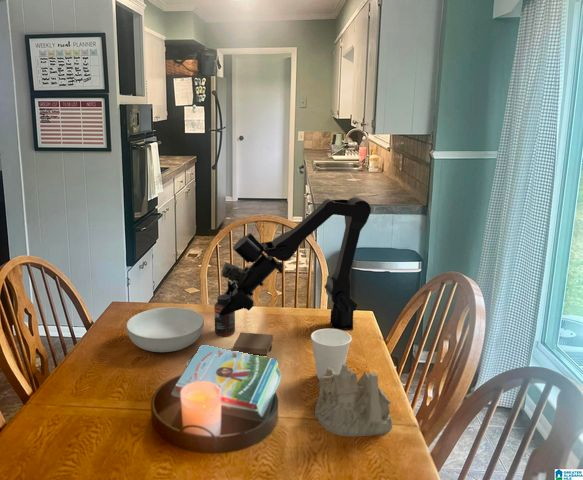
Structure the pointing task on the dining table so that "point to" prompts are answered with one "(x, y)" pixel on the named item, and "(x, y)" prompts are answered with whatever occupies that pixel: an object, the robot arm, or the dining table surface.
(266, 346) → the dark brown coaster
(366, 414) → the grey castle model
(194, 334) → the serving bowl
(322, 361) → the cup
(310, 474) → the dining table surface
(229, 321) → the supplement bottle
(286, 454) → the dining table surface
